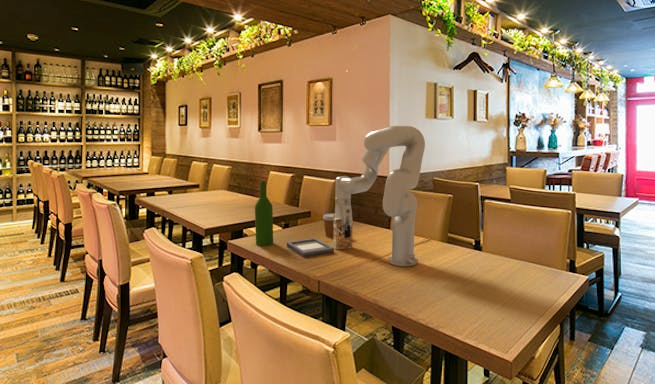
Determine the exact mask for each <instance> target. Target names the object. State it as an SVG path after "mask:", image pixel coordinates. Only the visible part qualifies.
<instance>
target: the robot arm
mask: <svg viewBox="0 0 655 384" xmlns="http://www.w3.org/2000/svg"><path fill="white" fill-rule="evenodd" d="M425 142H426V140H425V137H424V135H423V134H422V132H421V131H420V130H419V129H417V128H416V127H414V126H412V125H411V126H410V125H393V126H389V127H388V126H387V127H383V128H381V129H378V130H377V129H376V130H373V131H370V132H368V133H367V134H366V135H365V137H364V139H363V146H364V148H365V149H366V150H365V152H364V154H362V157H361V161H362V163H363V164H364V165H366V167H365V169H364V171H363V173H362V174H361V176H355V177H349V176H346V175H344V176H342V175H341V176H337V177H336V178H335V194H334V195H335V196H334V197H335V207H334V214H335V215H333V218H338V219H340V220H341V225H344V227H345V234H344V237H345V238H349V237H351V228H352V225H353V224H354V221H353V222H352V219H353V210H352V204H351V201H352V200H351V199H352V195H354V194H359V193H365V192H367V191H368V190H370V188H372V186H373V184H374V183H375V181H376V179H377V178H378V173H379V166H380V164H381V163H382V161H383V159H384V158H385V156H386V154H388V152H389V150H390V148H395V147H405V150H404V152H403V153H402V156H401V160H400V161H401V162H400V167H399V168H396V169H394V170H392V171H391V172H390V173H389V174H388V175H387V178H386V181H385V185H384V191H383V199H382V209H383V211H384V213H385V214H386V216H388V217H391V218H393V220H392V229H391V230H392V236H391V237H392V238H391V256H390V257H388V261H387V262H388V263H389V264H390V265H393V266H397V267H412V266H413V267H414V266H415V265H417V263H418V262H419V259H418V258H416V254H415V253H414V249H415V229H416V228H415V227H416V225H415V224H416V223H415V221H416V215H417V209H418V200H417V197H416V196H415V195H414V193H411V192H410V190H414V189H415V188H416V187H417V186H418V183H419V179H420V174H421V170H422V169H421V168H422V163H423V157H424V153H425V147H426V143H425ZM408 191H409V192H408ZM345 223H347V224H345ZM347 225H348V226H347ZM352 229H353V228H352Z"/></svg>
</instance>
